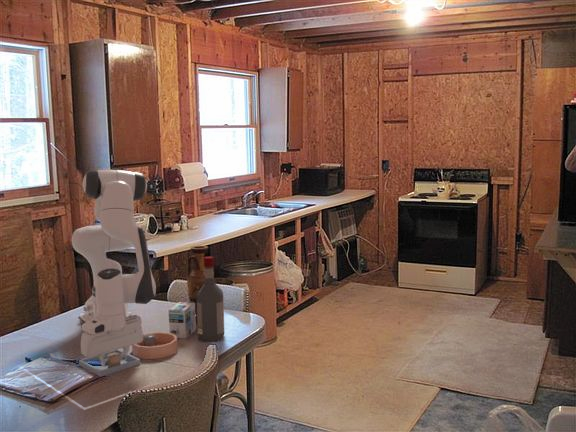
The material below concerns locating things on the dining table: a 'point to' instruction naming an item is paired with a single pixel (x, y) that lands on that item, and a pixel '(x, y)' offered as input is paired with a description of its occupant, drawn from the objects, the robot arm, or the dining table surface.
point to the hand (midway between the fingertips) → (114, 362)
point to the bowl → (163, 348)
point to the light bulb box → (182, 319)
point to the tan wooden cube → (113, 359)
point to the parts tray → (105, 370)
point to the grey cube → (150, 340)
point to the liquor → (210, 307)
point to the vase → (196, 274)
